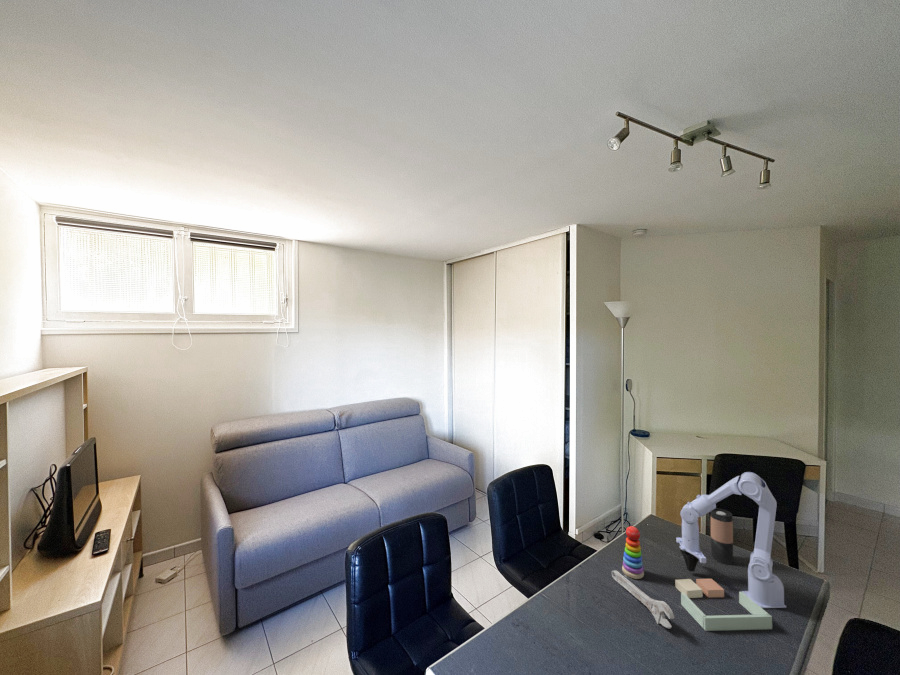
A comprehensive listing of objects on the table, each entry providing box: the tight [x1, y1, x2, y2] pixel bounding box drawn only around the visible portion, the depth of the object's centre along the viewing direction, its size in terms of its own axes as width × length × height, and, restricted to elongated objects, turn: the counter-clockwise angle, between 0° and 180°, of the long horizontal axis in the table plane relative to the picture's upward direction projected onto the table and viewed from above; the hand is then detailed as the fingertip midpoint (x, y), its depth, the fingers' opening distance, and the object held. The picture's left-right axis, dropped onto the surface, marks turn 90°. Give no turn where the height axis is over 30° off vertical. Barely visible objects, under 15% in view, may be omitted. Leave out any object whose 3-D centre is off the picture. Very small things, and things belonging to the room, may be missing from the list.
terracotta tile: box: [695, 578, 725, 598], centre depth 131 cm, size 6×6×3 cm
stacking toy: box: [621, 525, 645, 580], centre depth 142 cm, size 8×8×19 cm
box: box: [680, 591, 773, 632], centre depth 119 cm, size 22×12×4 cm, turn 91°
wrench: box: [611, 570, 675, 629], centre depth 126 cm, size 8×2×30 cm
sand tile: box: [674, 578, 704, 599], centre depth 131 cm, size 6×6×3 cm
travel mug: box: [710, 507, 734, 565], centre depth 151 cm, size 8×8×20 cm
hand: (690, 570), depth 141 cm, fingers closed
